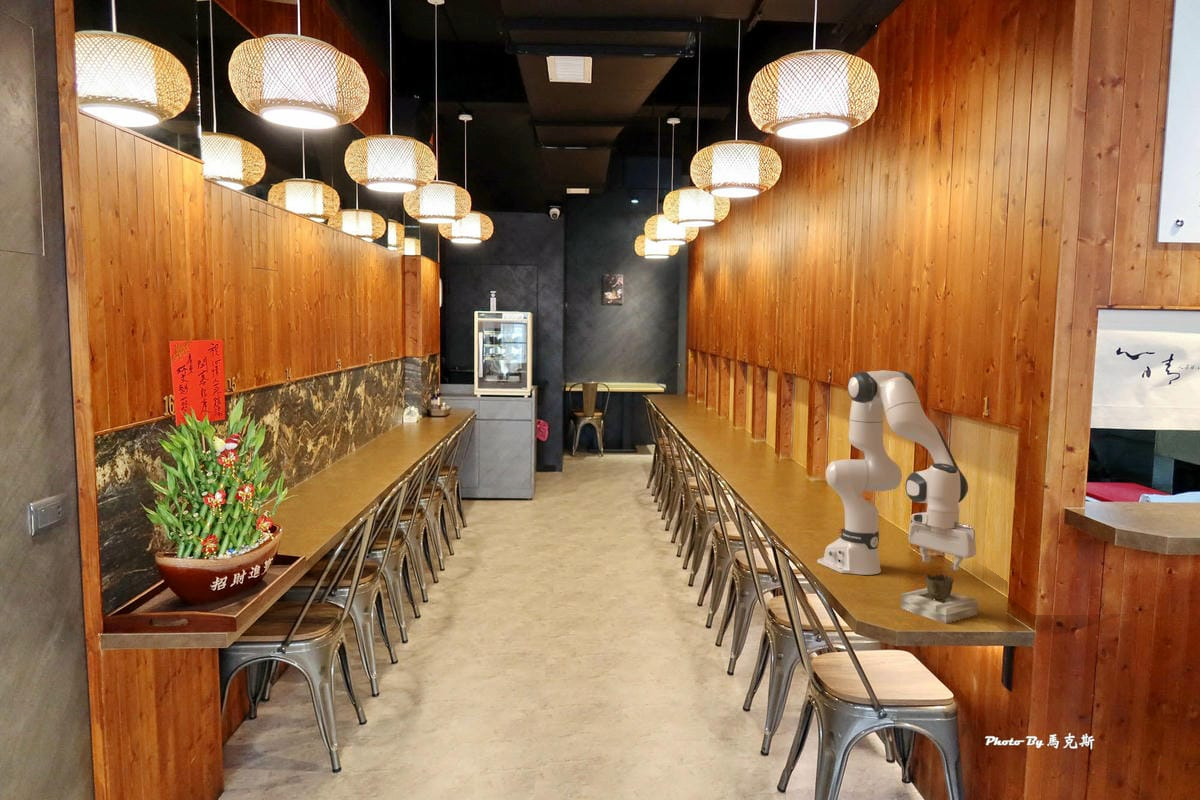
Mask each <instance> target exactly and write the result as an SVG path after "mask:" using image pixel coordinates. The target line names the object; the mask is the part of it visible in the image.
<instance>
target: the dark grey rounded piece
mask: <svg viewBox="0 0 1200 800" xmlns="http://www.w3.org/2000/svg"><path fill="white" fill-rule="evenodd" d="M925 577H926V579H925V581H926V588H927V591H928V594H929V595H930V596H931V597H932V600H934V601H937V602H940V603H945V599H947V598H948V597H949V596H950V594H951V592H952V589H953V584H954V578H953V577H951V576H949V577H948V575H944V574H942V573H941V574H937V573H935V575H932V574H931V573H930V574H929V573H927V574H926V575H925Z"/></svg>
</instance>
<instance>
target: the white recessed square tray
mask: <svg viewBox="0 0 1200 800" xmlns="http://www.w3.org/2000/svg"><path fill="white" fill-rule="evenodd" d="M978 603H979V600H978V599H975V598H972V597H968V596H965V595H962V594H959V593H955V592H952V591H951V594H950V596H949V597H948V598H947V599H945V603H940V602H937V601H934V600H932V597H931V596H930V595H929V594H928V591H927V587H925V588H921V589H920V588H919V589H916V590H912V591H908V592H904V593H900V609H901V608H902V609H901V610H904V609H905V610H904V611H906V610H907V612H909V611H910V613H913V614H916V615H918V616H922V617H924V618H928V619H931V620H933V621H936V620H937V622H939V621H940V623H942V622H943V623H942V624H946V623H947V624H950V623H953V622H952V621H954V622H957V621H956V620H958V621H960V619H961V620H964V619H963V618H965V619H967V618H966V617H968V618H971V617H970V616H972V617H975V616H974V615H976V616H978V608H979V607H978V605H979V604H978ZM949 622H950V623H949Z"/></svg>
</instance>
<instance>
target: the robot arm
mask: <svg viewBox="0 0 1200 800" xmlns="http://www.w3.org/2000/svg"><path fill="white" fill-rule="evenodd" d="M915 384H916V383H915V380H914V378H913V376H912V375H911V374H910V373H908V372H905V371H901V370H897V371H895V370H884V369H882V370H873V371H871V370H870V371H858V372H854V373H853V374H852V375H851V376H850V378H849V379H848V382H847V393H848V396H849V398H850V399H851V405H850V409H849V410H850V411H849V423H848V424H849V425H848V440H849V443H850V445H851V446H852V447H854V448H855V449H858V450H859V451H862V452H863V455H864V458H862V459H856V458H855V459H850V458H847V459H846V458H844V459H843V458H842V459H836V460H832V461H831V462H829V463H828V465H827V466H826V469H825V480H826V482H827V484H828V486H829V487H830V488H832V489H833V490H834V491H835V492H836V493H837V494H838V495H839V497H840V498H841V501H842V504H843V508H844V527H843V528H840V529H838V534H839V533H841V534H840V537H839V538H837V539H836V540H834V541H833V542H831V543H829V544H828V545H826V547H825V550H824V554H823V555H824V556H823V557H820V558H818V559H817V560H816V562H817V564H819V565H822V566H825V567H827V568H829V569H831V570H833V571H836V572H838V573H840V574H854V575H862V576H864V575H867V576H868V575H870V576H871V575H877V574H880V573H881V572H882V569H881V565H880V559H879V557H880V556H879V547H878V546H879V542H880V532H879V514H880V513H879V509H878V507H877V506H876V505H875V504H874V503H872V502H871V501H869V500H867V499H865V498H864V497H863V492H888V491H892V490H896V489H897V488H899V486H900V485H901V482H902V479H903V473H902V470H901V468H900V466H899V465H898V464H897V463H896V462H895V461H894V460H893V459H891V457H890V456H889V455H888V453H887V451H886V448H885V445H884V440H883V439H884V437H883V435H884V434H883V430H884V414H885V417H886V421H887V424H888V426H889V429H891V431H892V432H893V433H894V434H895V435H897V436H898V437H901V438H903V439H906V440H909V441H913V442H915V443H917V444H920V445H921V446H923V447H924V448H925V449H926V450H927V451H928V452H929V454H930V456H931V459H932V461H933V462H934V463H932V465H930V466H929V468H927V469H924V470H920V471H915V472H911V473H910V474H908V477H907V478H906V481H905V484H904V485H905V487H904V489H905V493H906V495H907V497H908V498H909V499H910V500H911V501H912V502H914V503H918V504H919V503H920V504H926V505H927V507H926V511H922V512H916V513H913V514H911V515H910V520H911V521H912V522H910V524H909V528H908V541H909V543H910V544H911V545H914V546H918V547H919V552H920V554H921V557H922V562H924V563H931V559H932V558H931V555H929V554H928V549H930V550H933V551H937V552H942V553H945V554H948V555H952V556H953V555H954V560H955V561H954V562H953V563H951V564H950V569H951V570H952V571H959V569H960V564H961V563H962V562H963V560H964V559H971V558H974V557H975V556H976V554H977V546H976V530H975V529H974V528H973V527H972V526H971V525H969V524H964V523H960V506H959V503H961V502H962V501H963V500H964V499H965V498H966V496H967V494H968V493H969V484H968V480H967V478H966V477H965V476H964V474H963V472H962V471H961V470H960V468H959V466H958V465H957V463H956V461H955V458H954V456H953V454H952V452H951V450H950V448H949V446H948V444H947V442H946V440H945V437H944V435H943V434H942V432H941V430H940V429H939V428H938V426H937V425H936V424H934V423H933V422H932V421H931V420H930V419H929V417H928V416H927V415H926V413H925V411H924V409H923V407H922V403H921V401H920V398H919V395H918V394H917V390H916V389H915V388H916V387H915V386H916V385H915Z"/></svg>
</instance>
